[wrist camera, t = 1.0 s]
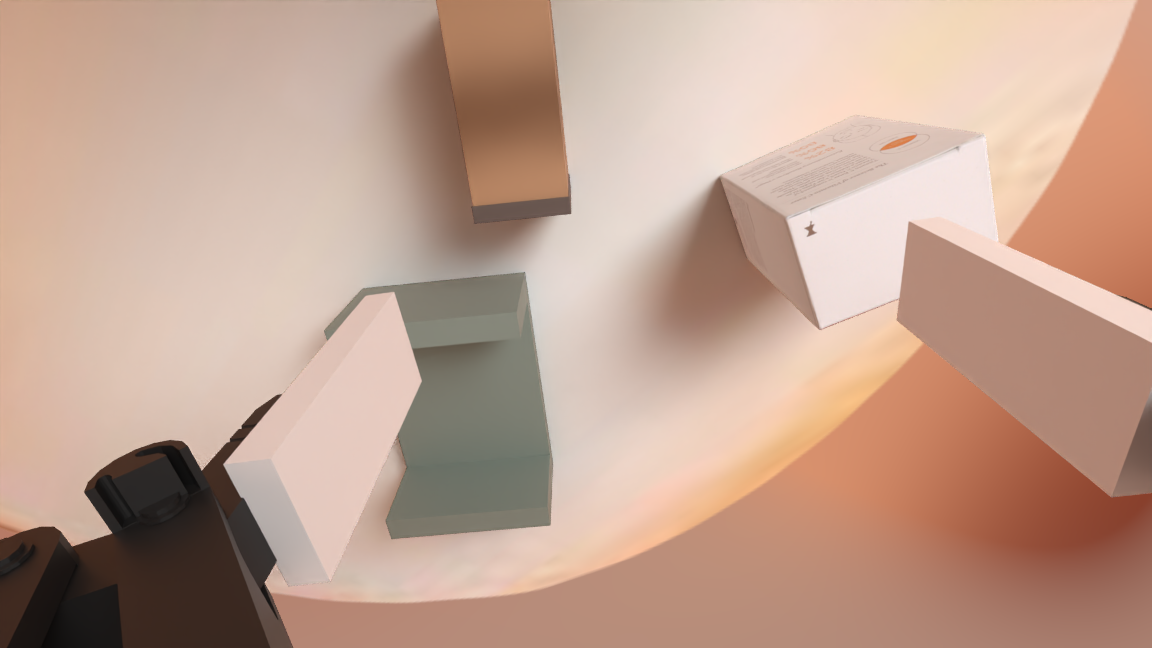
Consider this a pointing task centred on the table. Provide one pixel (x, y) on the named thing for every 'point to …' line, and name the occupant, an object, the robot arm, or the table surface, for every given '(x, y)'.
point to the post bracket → (470, 409)
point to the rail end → (507, 106)
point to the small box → (855, 208)
